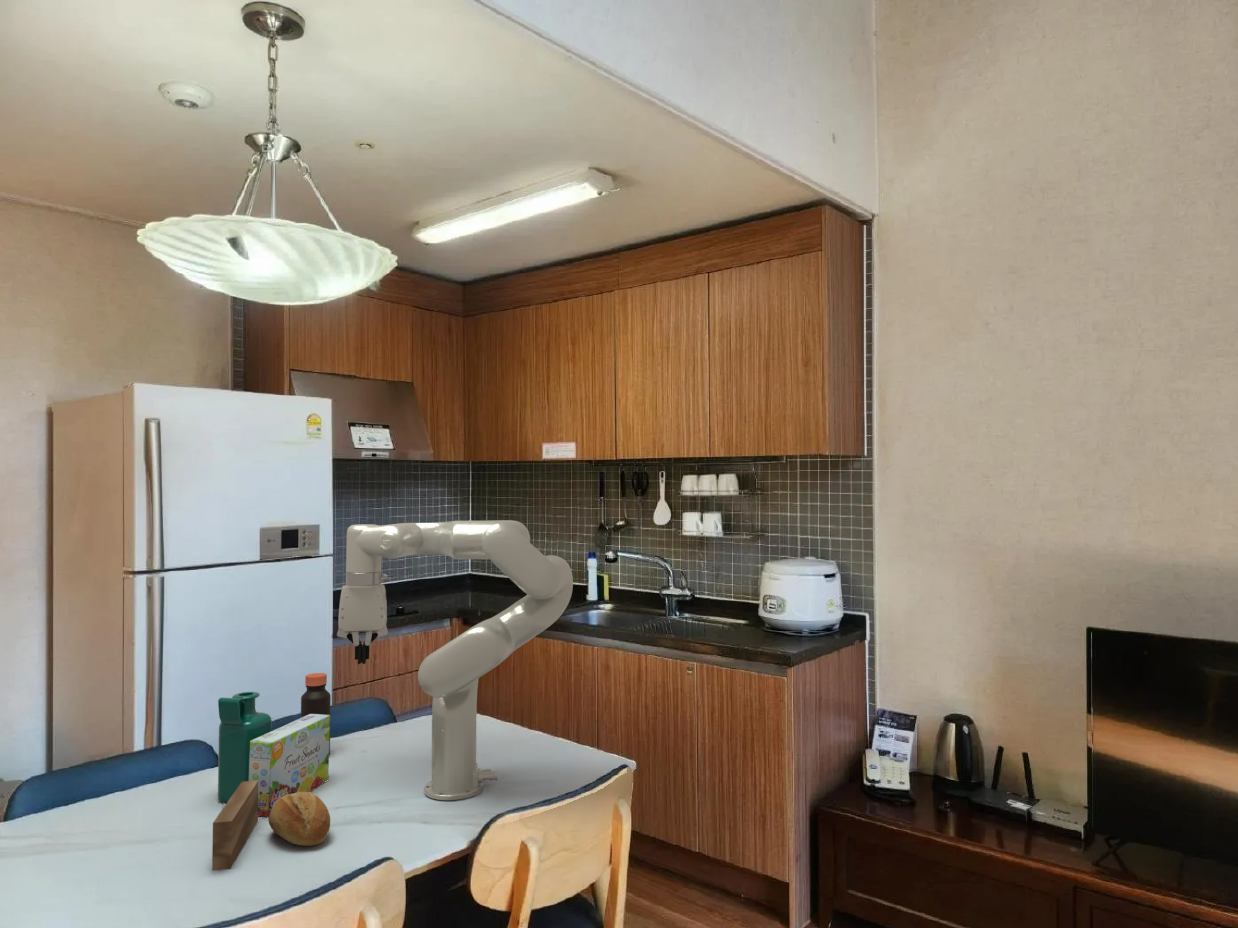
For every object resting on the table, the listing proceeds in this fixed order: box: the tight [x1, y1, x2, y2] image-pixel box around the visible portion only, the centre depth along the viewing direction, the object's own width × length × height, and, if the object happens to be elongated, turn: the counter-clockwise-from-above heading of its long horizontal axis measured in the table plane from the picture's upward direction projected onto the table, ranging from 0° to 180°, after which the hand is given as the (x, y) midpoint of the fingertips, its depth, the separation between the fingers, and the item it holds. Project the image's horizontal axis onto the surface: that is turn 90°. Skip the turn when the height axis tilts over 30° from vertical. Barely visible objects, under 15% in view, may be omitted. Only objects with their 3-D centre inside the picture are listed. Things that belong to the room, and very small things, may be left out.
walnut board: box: [211, 780, 259, 871], centre depth 145 cm, size 3×20×8 cm, turn 13°
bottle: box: [300, 672, 332, 756], centre depth 194 cm, size 7×7×20 cm
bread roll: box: [268, 791, 331, 847], centre depth 148 cm, size 10×15×8 cm, turn 47°
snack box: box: [249, 714, 331, 818], centre depth 168 cm, size 21×6×15 cm, turn 168°
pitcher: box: [217, 691, 273, 803], centre depth 168 cm, size 10×8×22 cm
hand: (361, 662), depth 175 cm, fingers closed
